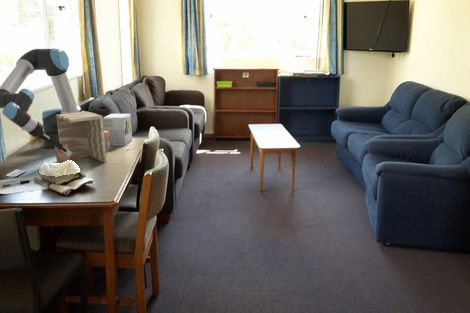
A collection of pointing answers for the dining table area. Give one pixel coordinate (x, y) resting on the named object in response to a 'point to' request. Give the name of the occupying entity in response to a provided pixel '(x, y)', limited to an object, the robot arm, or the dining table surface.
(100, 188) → the dining table surface
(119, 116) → the supplement box
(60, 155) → the terracotta block
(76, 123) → the open side box
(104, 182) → the dining table surface
